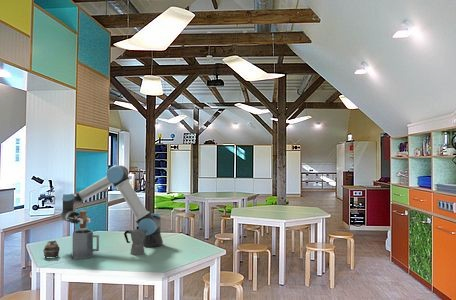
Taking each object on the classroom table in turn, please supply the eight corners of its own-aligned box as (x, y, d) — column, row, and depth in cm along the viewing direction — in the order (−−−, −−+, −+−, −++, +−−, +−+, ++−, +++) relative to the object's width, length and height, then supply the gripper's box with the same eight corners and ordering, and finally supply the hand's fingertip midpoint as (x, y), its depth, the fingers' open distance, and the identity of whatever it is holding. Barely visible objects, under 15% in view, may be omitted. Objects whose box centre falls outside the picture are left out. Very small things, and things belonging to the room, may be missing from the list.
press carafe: (100, 255, 252) (100, 231, 252) (85, 260, 240) (85, 234, 240) (83, 253, 258) (83, 229, 259) (67, 257, 247) (67, 232, 247)
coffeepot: (147, 251, 264) (147, 224, 264) (148, 254, 255) (148, 227, 255) (123, 252, 259) (123, 225, 260) (124, 256, 250) (124, 228, 251)
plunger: (92, 246, 252) (92, 210, 252) (82, 249, 244) (82, 211, 245) (83, 245, 255) (83, 209, 256) (73, 247, 248) (73, 211, 249)
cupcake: (41, 256, 250) (41, 241, 251) (57, 254, 256) (57, 239, 256) (45, 259, 243) (45, 243, 243) (61, 257, 249) (61, 241, 249)
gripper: (85, 221, 269) (99, 225, 252) (60, 224, 258) (72, 228, 240) (85, 210, 270) (99, 214, 252) (60, 212, 258) (72, 216, 241)
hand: (86, 221), depth 246 cm, fingers closed on plunger, 4 cm apart
